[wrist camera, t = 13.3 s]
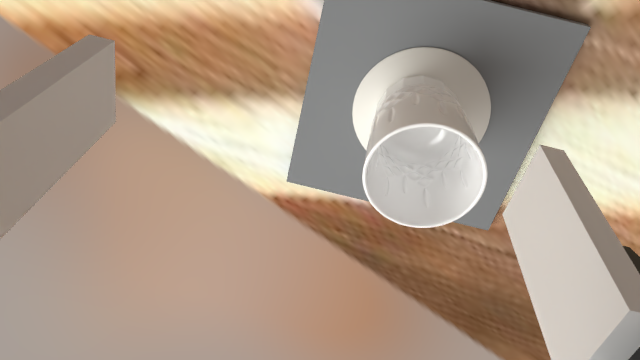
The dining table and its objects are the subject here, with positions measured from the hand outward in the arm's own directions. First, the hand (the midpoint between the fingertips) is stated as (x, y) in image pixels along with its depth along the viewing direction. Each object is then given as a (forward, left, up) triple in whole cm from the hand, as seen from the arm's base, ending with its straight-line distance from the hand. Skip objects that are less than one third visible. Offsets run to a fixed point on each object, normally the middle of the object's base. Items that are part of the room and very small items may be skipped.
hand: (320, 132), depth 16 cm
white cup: (+7, -9, -24) cm, 27 cm away
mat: (+7, -9, -25) cm, 28 cm away
